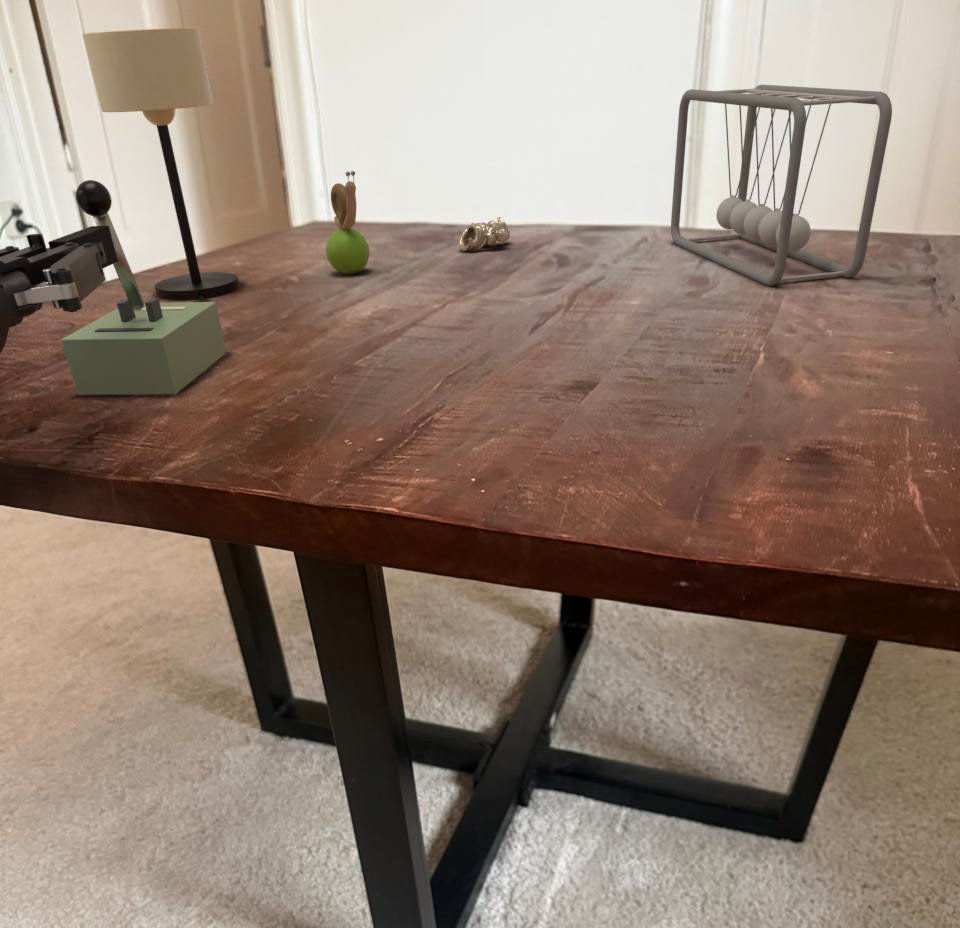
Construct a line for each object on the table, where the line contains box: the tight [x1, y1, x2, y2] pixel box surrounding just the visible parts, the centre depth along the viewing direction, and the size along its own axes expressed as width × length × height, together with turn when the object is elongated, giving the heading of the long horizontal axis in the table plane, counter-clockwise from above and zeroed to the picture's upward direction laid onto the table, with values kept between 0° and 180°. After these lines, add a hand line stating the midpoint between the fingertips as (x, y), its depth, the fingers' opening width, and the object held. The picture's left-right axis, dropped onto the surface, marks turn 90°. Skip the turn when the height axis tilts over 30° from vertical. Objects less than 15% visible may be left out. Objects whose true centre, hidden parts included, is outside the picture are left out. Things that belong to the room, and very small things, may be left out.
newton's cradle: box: [670, 84, 893, 287], centre depth 102 cm, size 30×10×18 cm, turn 12°
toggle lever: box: [75, 179, 145, 310], centre depth 72 cm, size 3×3×11 cm
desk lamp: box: [82, 27, 240, 302], centre depth 97 cm, size 20×12×26 cm, turn 24°
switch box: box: [60, 297, 227, 396], centre depth 78 cm, size 12×9×7 cm
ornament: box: [458, 216, 511, 252], centre depth 120 cm, size 8×7×4 cm
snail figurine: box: [325, 170, 370, 276], centre depth 108 cm, size 5×6×12 cm
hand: (104, 244), depth 71 cm, fingers closed
